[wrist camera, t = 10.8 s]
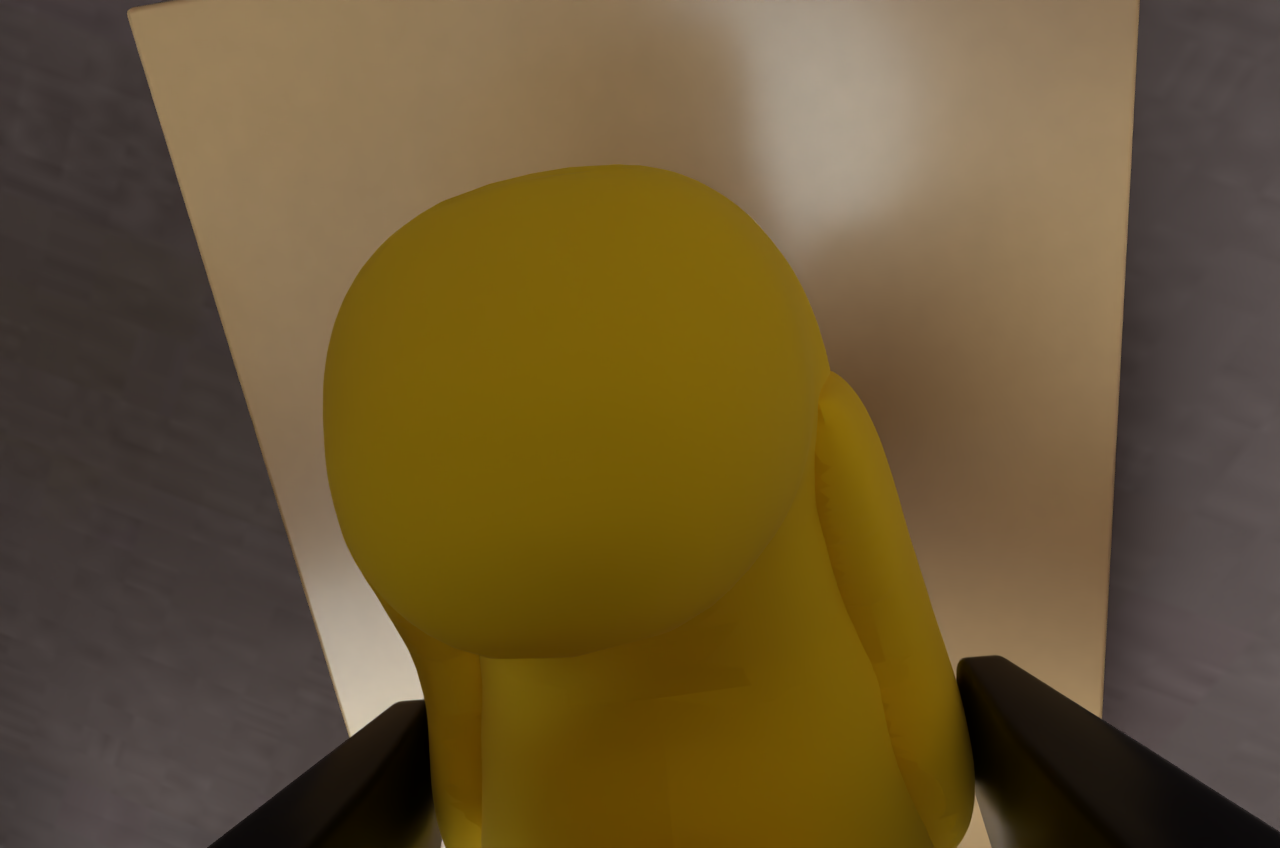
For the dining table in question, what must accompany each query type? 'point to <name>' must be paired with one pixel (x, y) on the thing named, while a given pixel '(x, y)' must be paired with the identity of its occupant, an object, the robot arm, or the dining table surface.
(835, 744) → the duckling
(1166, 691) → the dining table surface
